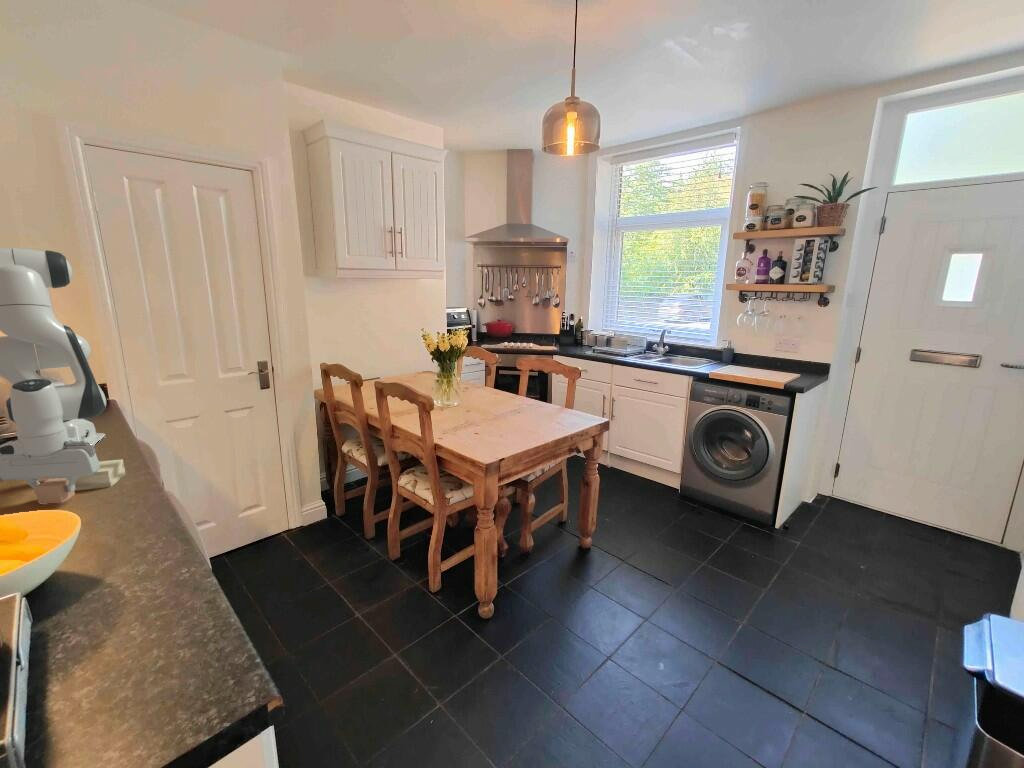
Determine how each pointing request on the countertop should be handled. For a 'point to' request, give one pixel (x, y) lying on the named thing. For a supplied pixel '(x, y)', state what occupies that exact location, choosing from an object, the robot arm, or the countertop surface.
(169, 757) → the countertop surface
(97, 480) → the birch block
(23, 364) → the robot arm
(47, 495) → the terracotta cube
